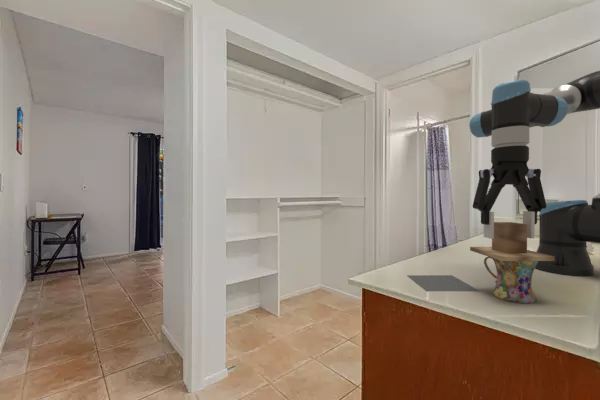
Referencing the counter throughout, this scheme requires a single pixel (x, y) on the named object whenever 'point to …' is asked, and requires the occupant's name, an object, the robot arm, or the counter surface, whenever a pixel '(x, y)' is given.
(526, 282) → the mug
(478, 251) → the lid
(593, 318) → the counter surface
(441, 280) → the mat
